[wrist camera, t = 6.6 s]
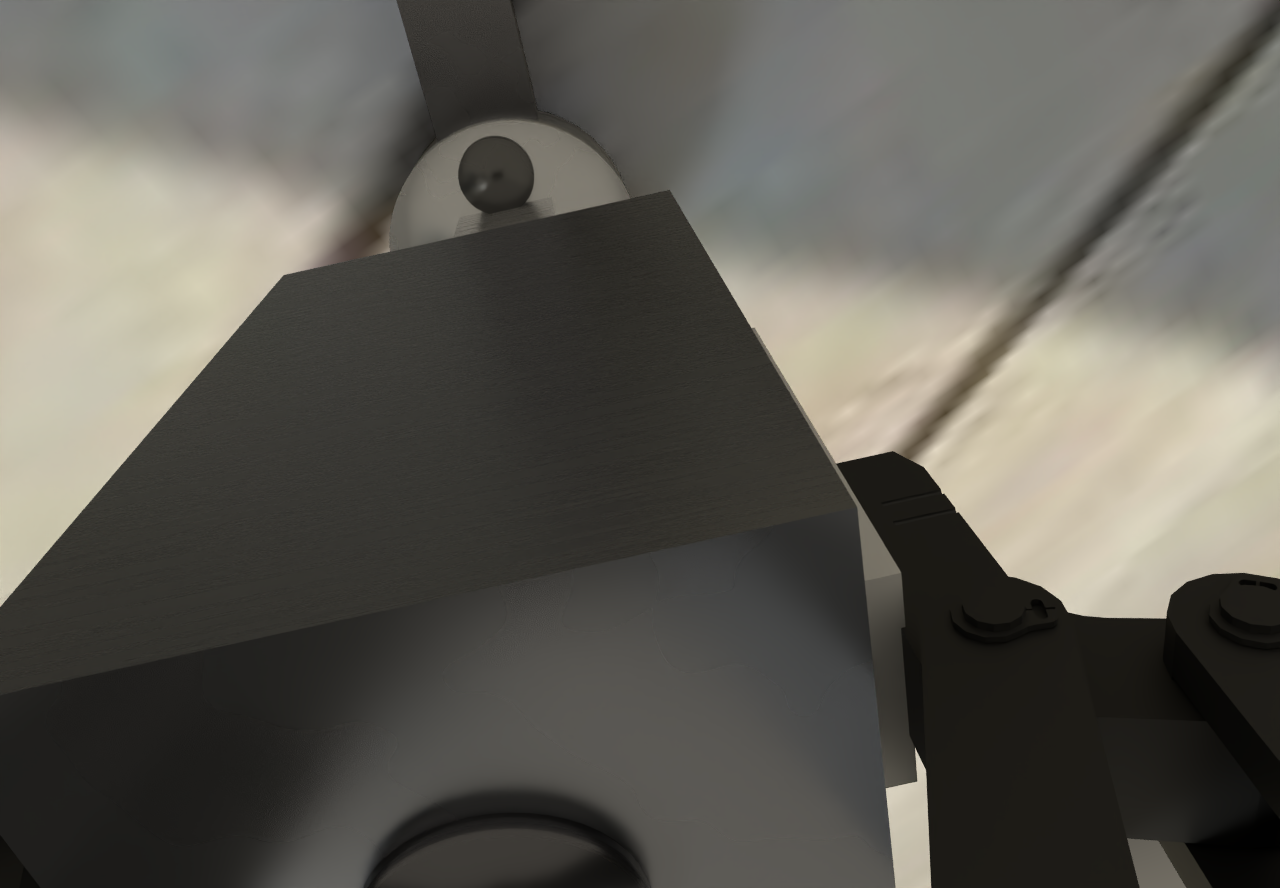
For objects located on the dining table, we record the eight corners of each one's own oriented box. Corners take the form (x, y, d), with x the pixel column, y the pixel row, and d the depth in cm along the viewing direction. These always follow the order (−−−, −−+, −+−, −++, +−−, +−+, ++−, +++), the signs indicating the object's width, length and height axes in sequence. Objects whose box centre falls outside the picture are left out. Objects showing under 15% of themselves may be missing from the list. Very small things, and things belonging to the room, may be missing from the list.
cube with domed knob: (406, 588, 18) (266, 1221, 9) (283, 275, 15) (-117, 743, 6) (728, 518, 18) (921, 1081, 9) (669, 190, 15) (867, 527, 6)
